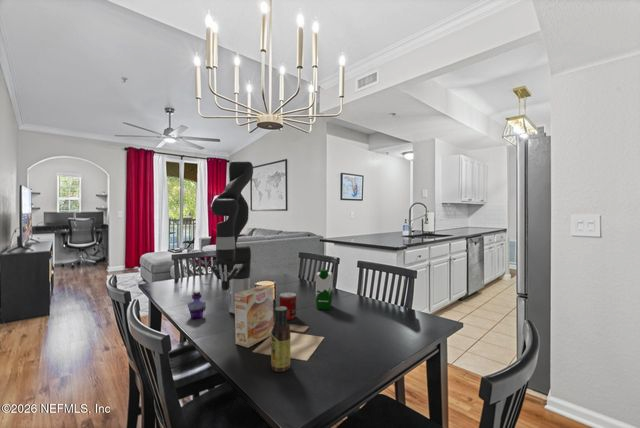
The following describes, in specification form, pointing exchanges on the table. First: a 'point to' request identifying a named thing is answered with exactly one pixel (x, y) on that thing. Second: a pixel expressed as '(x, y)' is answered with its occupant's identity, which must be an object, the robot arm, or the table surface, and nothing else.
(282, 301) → the canned food
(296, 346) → the cork mat
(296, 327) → the walnut turner
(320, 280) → the milk carton
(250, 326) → the coffeecake box
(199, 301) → the potion bottle
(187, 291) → the table surface
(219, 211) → the robot arm
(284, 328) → the sauce bottle
